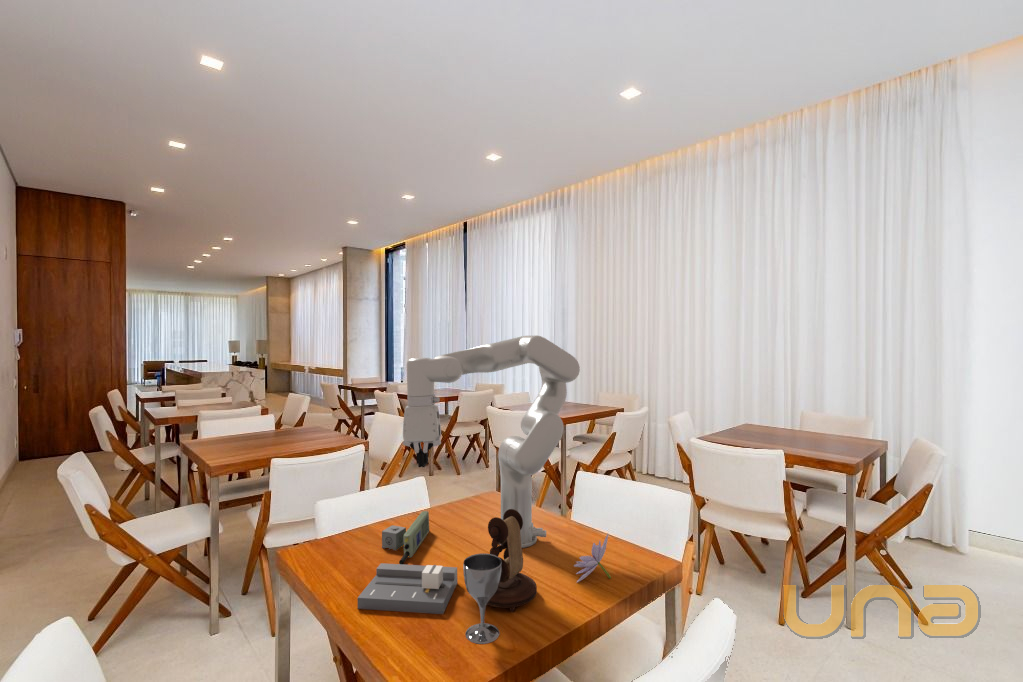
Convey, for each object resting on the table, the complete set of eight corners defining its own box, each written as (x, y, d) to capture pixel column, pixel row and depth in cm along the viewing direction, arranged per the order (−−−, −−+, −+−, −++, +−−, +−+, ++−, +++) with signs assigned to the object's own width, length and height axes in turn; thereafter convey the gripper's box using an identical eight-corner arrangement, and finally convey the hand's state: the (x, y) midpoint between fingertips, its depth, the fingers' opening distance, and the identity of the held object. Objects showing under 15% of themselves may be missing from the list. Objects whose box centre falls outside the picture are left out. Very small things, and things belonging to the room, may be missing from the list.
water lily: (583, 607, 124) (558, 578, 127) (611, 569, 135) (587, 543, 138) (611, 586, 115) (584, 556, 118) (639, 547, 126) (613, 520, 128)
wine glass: (463, 623, 105) (463, 554, 105) (500, 621, 106) (500, 552, 106) (463, 646, 97) (463, 571, 97) (502, 644, 98) (502, 569, 98)
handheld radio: (431, 531, 157) (407, 567, 132) (421, 531, 157) (395, 567, 132) (430, 510, 157) (406, 542, 132) (420, 511, 157) (394, 542, 132)
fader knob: (442, 580, 118) (442, 565, 118) (438, 589, 114) (438, 573, 114) (426, 579, 119) (426, 564, 119) (421, 588, 115) (421, 572, 115)
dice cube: (396, 550, 142) (396, 533, 142) (381, 548, 144) (381, 531, 144) (405, 544, 147) (405, 527, 147) (392, 541, 149) (392, 525, 149)
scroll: (516, 621, 106) (515, 529, 106) (462, 602, 114) (462, 516, 114) (547, 591, 119) (547, 509, 119) (497, 576, 126) (497, 499, 126)
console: (457, 583, 123) (457, 567, 123) (443, 614, 109) (443, 596, 109) (380, 578, 125) (380, 563, 125) (357, 608, 111) (357, 591, 111)
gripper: (449, 399, 141) (451, 462, 141) (399, 400, 142) (400, 462, 142) (444, 403, 133) (445, 469, 134) (391, 403, 135) (392, 469, 135)
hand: (422, 465), depth 138 cm, fingers closed
